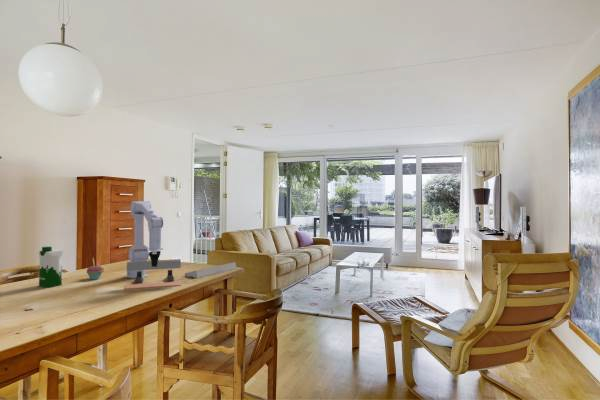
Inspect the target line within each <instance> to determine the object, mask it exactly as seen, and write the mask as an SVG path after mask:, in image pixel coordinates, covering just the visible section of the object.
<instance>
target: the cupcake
mask: <svg viewBox="0 0 600 400" xmlns="http://www.w3.org/2000/svg"><path fill="white" fill-rule="evenodd" d="M92 264H93V265H92V266H90V267H88V268H87V269H86V274H87V275H88V277H89V279H90V280H99V279H100V278H101V275H102V273H104V272H105V269H104V267H102V266H101V265H95V264H96V263H95V258H94V257H92Z"/></svg>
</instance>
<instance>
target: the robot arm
mask: <svg viewBox="0 0 600 400" xmlns="http://www.w3.org/2000/svg"><path fill="white" fill-rule="evenodd" d="M130 216H132V217H133V221H134V222H133V225H134V226H133V227H134V228H133V233H134V244H133V245H132V246H131V247H130V248H129V250H128V260H129V262H132V261H149V258H150V261H151V263H152V267H157V263H158V260H159V258H160V256H161V250H162V251H163V250H164V248H163V247H162V228H163V227H164V219H163V217H161V216H160V217H159V216H158V215H157V213H156V212H155V211H154V210H152V202H151V201H150V200H148V201H146V200H145V201H142V200H140V201H139V200H138V201H137V200H136V201H135V200H132V201H131V203H130ZM144 218H145V220H146V221H147V227H148V232H149V235H148V236H149V239H148V240H149V241H148V246H147V245H145V244H144V243H145V242H144ZM137 271H142V279H144V278H145V277H148V276H149V274H146V270H134V271H127V270H126V276H125V277H126V278H129V279H130V278H131V279H135V277H137Z"/></svg>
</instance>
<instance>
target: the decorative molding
mask: <svg viewBox="0 0 600 400" xmlns="http://www.w3.org/2000/svg"><path fill="white" fill-rule="evenodd" d="M233 270H237V263H236V261H234V262H229V263H225V264H220V265H216V266H211V267H206V268H201V269H197V270H192V271H188V272H185V273H184V276H185V277H189V278H194V279H199V278H200V277H201V278H205V277H209V276H213V275H217V274H220V273H225V272H229V271H233ZM208 275H209V276H208ZM204 276H205V277H204Z"/></svg>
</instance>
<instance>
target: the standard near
mask: <svg viewBox="0 0 600 400" xmlns="http://www.w3.org/2000/svg"><path fill="white" fill-rule="evenodd" d="M144 280H145V279H144V278H142V271H137V277H135V278H134V281H133V284H141V283H144Z"/></svg>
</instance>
